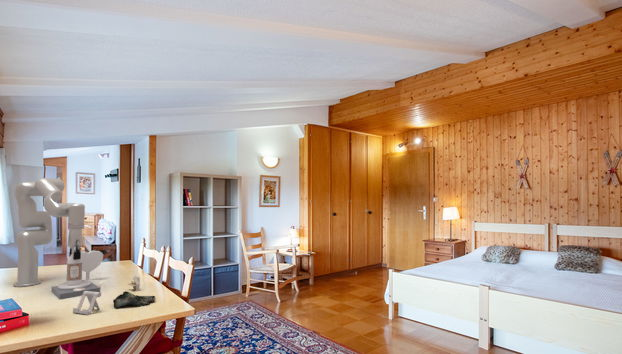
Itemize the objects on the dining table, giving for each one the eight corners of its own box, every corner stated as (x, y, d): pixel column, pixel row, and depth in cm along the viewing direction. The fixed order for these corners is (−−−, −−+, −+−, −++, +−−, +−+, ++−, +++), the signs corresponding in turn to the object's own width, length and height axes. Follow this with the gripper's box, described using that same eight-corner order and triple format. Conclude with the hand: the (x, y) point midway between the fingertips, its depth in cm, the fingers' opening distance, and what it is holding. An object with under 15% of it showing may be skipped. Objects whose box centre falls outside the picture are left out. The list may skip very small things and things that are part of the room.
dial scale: (51, 291, 198) (51, 284, 199) (89, 285, 211) (89, 279, 211) (59, 299, 182) (59, 291, 183) (100, 292, 195) (100, 285, 195)
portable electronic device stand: (72, 313, 160) (73, 294, 160) (89, 308, 167) (89, 289, 168) (87, 315, 157) (87, 295, 157) (103, 310, 164) (103, 291, 165)
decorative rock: (153, 289, 187) (160, 292, 174) (153, 301, 186) (160, 306, 174) (111, 292, 176) (115, 296, 164) (110, 305, 175) (114, 311, 163)
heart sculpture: (101, 278, 228) (102, 249, 229) (102, 280, 224) (103, 250, 225) (71, 282, 219) (72, 252, 220) (72, 284, 215) (73, 253, 216)
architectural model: (133, 292, 196) (133, 278, 196) (127, 290, 200) (127, 277, 201) (139, 291, 199) (139, 277, 199) (133, 289, 203) (133, 275, 203)
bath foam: (66, 286, 194) (67, 248, 195) (66, 283, 200) (67, 246, 201) (81, 284, 198) (82, 247, 199) (81, 282, 203) (82, 245, 205)
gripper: (64, 225, 204) (63, 256, 203) (71, 228, 192) (70, 261, 191) (80, 225, 209) (79, 255, 208) (87, 227, 197) (86, 259, 196)
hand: (74, 258), depth 200 cm, fingers open, 9 cm apart
